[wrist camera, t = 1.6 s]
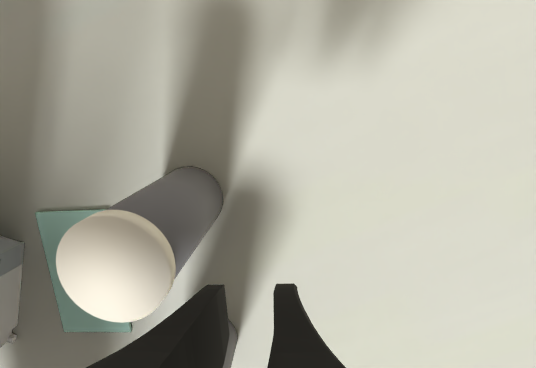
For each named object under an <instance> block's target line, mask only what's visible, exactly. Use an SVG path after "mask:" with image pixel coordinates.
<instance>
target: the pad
mask: <svg viewBox="0 0 536 368" xmlns="http://www.w3.org/2000/svg"><path fill="white" fill-rule="evenodd" d="M104 210H106V209H97V210H72V211H46V212H36V213H35V215H36V219H37V223H38V227H39V231H40V235H41V239H42V243H43V247H44V252H45V256H46V260H47V264H48V268H49V272H50V276H51V280H52V284H53V288H54V292H55V297H56V301H57V305H58V309H59V313H60V317H61V321H62V325H63V329H64V332H131V331H132V327H131V322H123V323H120V322H111V321H106V320H103V319H100V318H97V317H95V316H93V315H91V314H89V313H87V312H86V311H84V310H83V309H81V308H80V307H79V306H78V305H77V304H76V303H75V302H74V301H73V300H72V299H71V298H70V297H69V296H68V294H67V293H66V291H65V290H64V288H63V286H62V284H61V282H60V280H59V277H58V273H57V268H56V253H57V249H58V245H59V243H60V241H61V239H62V237H63V236H64V234H65V233H66V232H67V231H68V229H70V228H71V227H72V226H73V225H75V224H76V223H78V222H80V221H81V220H83V219H85V218H87V217H88V216H90V215H92V214H95V213H97V212H100V211H104Z"/></svg>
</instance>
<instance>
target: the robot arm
mask: <svg viewBox="0 0 536 368" xmlns="http://www.w3.org/2000/svg"><path fill="white" fill-rule="evenodd" d="M229 335H230V334H229V325H228V315H227V306H226V297H225V288H224V285H207V286H205V287H204V288H203V289H201V290H200V291H199V292H198V293H197V294H195V295H194V296H193V297H192V298H191V299H190V300H188V301H187V302H186V303H185V304H184V305H182V306H181V307H180V308H179V309H178V310H176V311H175V312H174V313H173V314H171V315H170V316H169V317H167V318H166V319H165V320H163V321H162V322H161V323H159V324H158V325H157V326H155V327H154V328H153V329H151V330H150V331H149V332H147V333H146V334H144V335H143V336H141V337H140V338H138V339H137V340H135V341H134V342H132V343H130V344H129V345H127V346H125V347H124V348H122V349H120V350H119V351H117V352H115V353H113V354H111V355H109V356H107V357H106V358H104V359H102V360H100V361H98V362H96V363H94V364H92V365H90V366H88V367H86V368H223V365H224V361H225V357H226V352H227V346H228V341H229ZM268 368H346V367H345V366H344V365H343V364H342V363H341V362H340V361H339V360H338V359H337V357H336V356H335V355H334V354H333V353H332V352H331V350H330V349H329V348H328V346H327V345H326V344H325V343H324V341H323V340H322V338H321V337H320V335H319V334H318V332H317V331H316V329H315V328H314V326H313V324H312V323H311V321H310V319H309V317H308V315H307V313H306V312H305V310H304V308H303V305H302V303H301V301H300V298H299V295H298V291H297V286H296V285H295V284H276V286H275V290H274V336H273V342H272V347H271V353H270V358H269V363H268Z"/></svg>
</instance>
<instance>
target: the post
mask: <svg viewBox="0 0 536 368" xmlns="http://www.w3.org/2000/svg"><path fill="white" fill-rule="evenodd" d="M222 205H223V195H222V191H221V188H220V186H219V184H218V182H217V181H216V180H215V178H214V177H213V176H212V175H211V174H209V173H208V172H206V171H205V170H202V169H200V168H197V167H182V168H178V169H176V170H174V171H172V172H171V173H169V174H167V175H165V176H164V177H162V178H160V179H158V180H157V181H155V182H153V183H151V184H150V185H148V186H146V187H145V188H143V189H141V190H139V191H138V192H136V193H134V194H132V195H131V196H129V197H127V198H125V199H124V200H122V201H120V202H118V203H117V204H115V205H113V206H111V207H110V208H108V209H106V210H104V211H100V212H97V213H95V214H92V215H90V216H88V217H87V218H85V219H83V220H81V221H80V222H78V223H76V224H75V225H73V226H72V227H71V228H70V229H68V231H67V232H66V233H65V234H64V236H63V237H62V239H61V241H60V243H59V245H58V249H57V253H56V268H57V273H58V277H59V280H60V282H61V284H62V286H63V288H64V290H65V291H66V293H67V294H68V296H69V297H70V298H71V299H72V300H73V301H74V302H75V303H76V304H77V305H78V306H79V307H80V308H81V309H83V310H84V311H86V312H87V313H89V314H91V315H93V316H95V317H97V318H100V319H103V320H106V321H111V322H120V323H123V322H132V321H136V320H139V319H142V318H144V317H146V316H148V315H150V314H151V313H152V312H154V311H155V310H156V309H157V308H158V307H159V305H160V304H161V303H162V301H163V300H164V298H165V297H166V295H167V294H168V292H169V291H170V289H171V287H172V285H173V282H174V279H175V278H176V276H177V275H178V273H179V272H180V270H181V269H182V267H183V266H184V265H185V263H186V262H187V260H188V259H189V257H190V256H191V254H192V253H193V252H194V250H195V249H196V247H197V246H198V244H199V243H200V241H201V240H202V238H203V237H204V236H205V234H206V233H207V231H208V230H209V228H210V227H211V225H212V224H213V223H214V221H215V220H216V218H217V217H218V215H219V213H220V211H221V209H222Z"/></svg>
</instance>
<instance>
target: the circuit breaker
mask: <svg viewBox="0 0 536 368" xmlns="http://www.w3.org/2000/svg"><path fill="white" fill-rule="evenodd" d="M24 244H25V243H23V242H19V241H16V240H13V239H9V238H6V237H2V236H0V347H2V346H3V345H4V344H5V343H6V342H9V343H13V342H14V341H15V340H16V339H17V335H15V334H12V329H13V328H14V327H16V326H17V325H18V315H19V304H20V292H21V280H22V269H23V257H24Z"/></svg>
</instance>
